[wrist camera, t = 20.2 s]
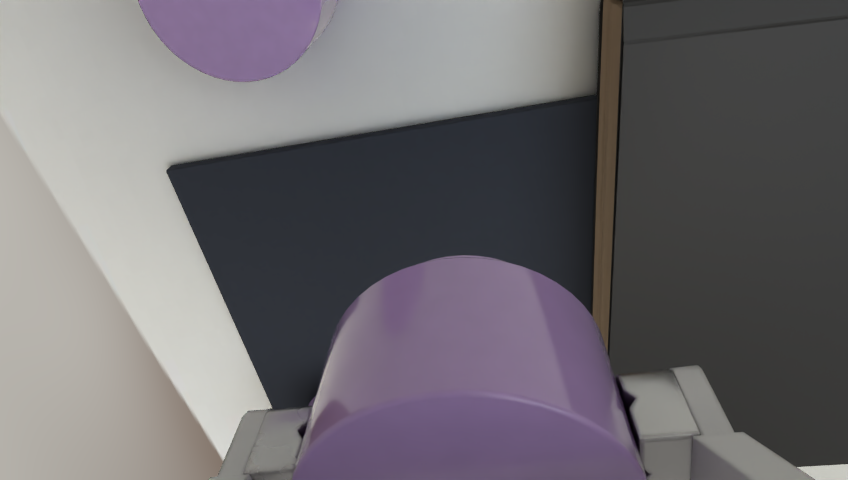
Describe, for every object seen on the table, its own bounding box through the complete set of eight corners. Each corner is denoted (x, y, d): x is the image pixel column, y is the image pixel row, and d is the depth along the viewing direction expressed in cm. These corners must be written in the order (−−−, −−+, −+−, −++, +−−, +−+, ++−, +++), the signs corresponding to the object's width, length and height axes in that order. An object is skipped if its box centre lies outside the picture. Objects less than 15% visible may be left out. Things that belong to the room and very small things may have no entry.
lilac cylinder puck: (371, 438, 16) (341, 624, 12) (306, 250, 13) (235, 414, 9) (602, 417, 15) (653, 611, 11) (589, 210, 12) (654, 372, 8)
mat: (324, 512, 40) (322, 520, 39) (170, 165, 27) (165, 170, 26) (626, 488, 37) (628, 497, 37) (618, 90, 24) (622, 94, 24)
